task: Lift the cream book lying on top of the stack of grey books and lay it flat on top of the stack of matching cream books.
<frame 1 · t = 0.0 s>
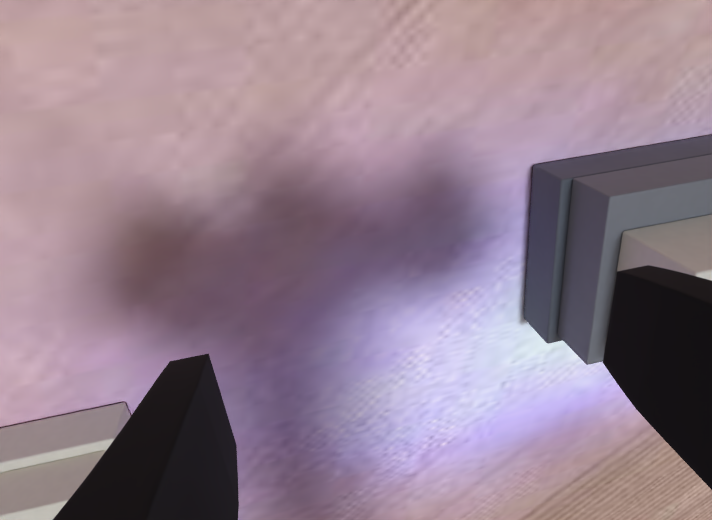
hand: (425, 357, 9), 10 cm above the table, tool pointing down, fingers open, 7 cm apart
cream stack: (16, 492, 21), on the table
grey stack: (648, 224, 21), on the table
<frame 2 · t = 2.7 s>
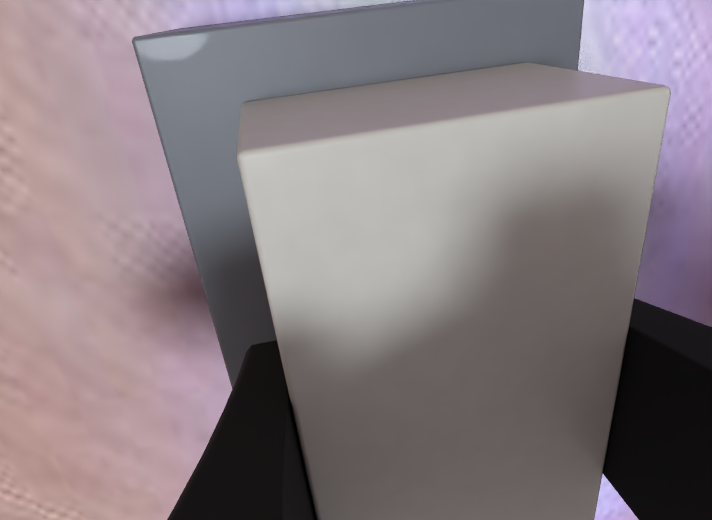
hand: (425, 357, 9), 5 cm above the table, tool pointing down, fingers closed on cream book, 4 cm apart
cream book: (407, 326, 10), point 4 cm above the table, touching grey stack, gripper
grey stack: (364, 242, 13), on the table
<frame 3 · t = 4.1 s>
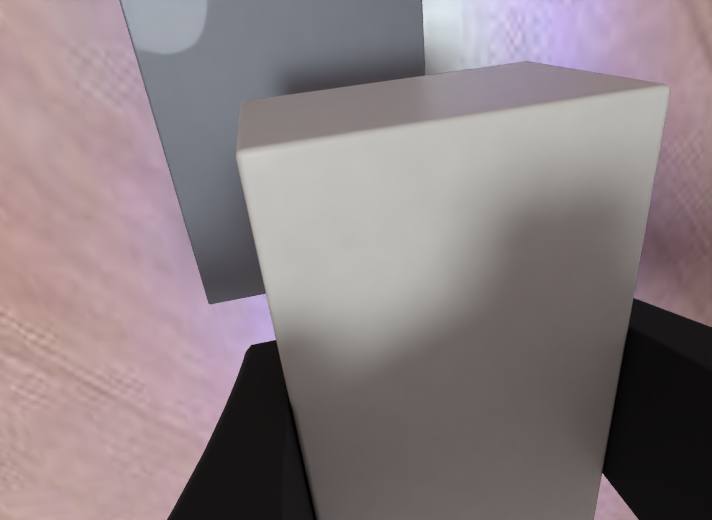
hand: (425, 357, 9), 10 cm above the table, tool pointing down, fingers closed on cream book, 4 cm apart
cream book: (406, 325, 10), point 9 cm above the table, touching gripper
grey stack: (290, 80, 15), on the table
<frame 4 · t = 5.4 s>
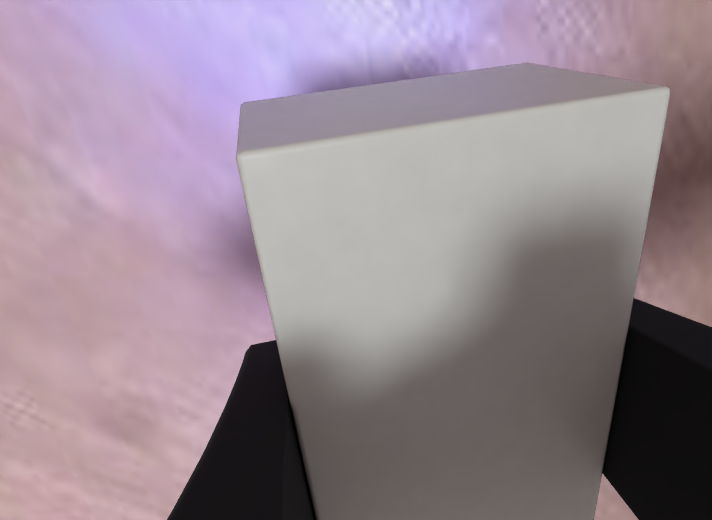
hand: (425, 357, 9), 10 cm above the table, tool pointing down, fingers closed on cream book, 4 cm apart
cream book: (407, 326, 10), point 9 cm above the table, touching gripper
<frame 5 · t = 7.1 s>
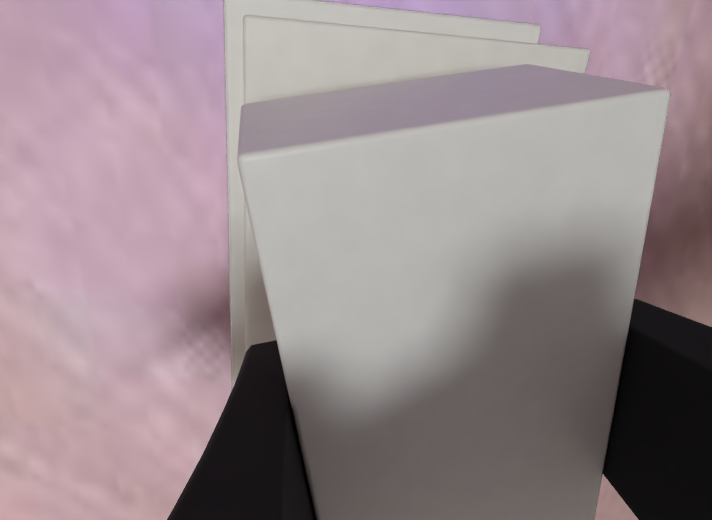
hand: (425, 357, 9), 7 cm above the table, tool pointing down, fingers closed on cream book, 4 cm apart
cream book: (407, 327, 10), point 6 cm above the table, touching gripper
cream stack: (353, 218, 15), on the table
when the fingers open (5 cm above the table, at t = 8.1 s): cream book stays where it is, resting on cream stack.
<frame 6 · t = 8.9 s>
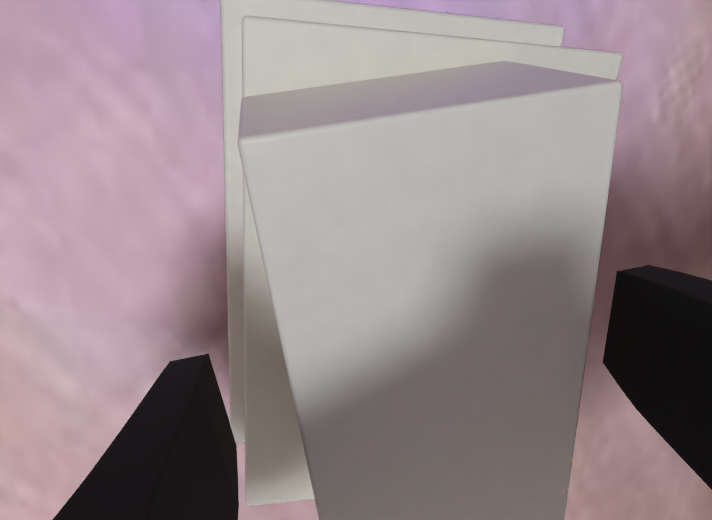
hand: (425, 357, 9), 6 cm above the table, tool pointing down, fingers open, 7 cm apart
cream book: (396, 308, 10), point 4 cm above the table, touching cream stack
cream stack: (360, 231, 14), on the table
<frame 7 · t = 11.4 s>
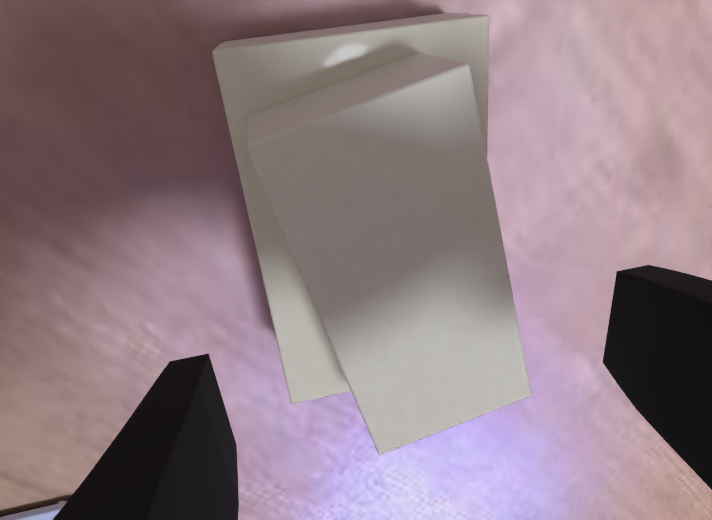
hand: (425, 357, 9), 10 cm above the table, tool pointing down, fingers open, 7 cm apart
cream book: (384, 242, 14), point 4 cm above the table, touching cream stack
cream stack: (356, 197, 18), on the table
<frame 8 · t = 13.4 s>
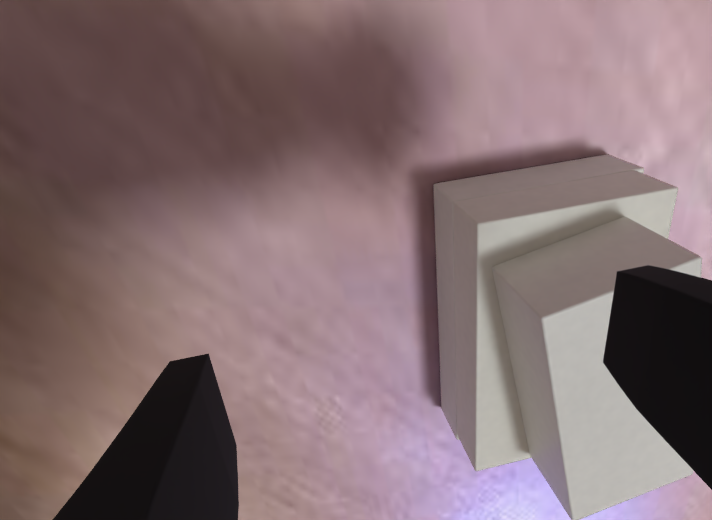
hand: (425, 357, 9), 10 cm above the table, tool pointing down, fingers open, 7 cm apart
cream book: (571, 348, 17), point 4 cm above the table, touching cream stack
cream stack: (516, 293, 21), on the table
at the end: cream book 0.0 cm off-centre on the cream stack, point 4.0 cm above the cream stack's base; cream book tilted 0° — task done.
